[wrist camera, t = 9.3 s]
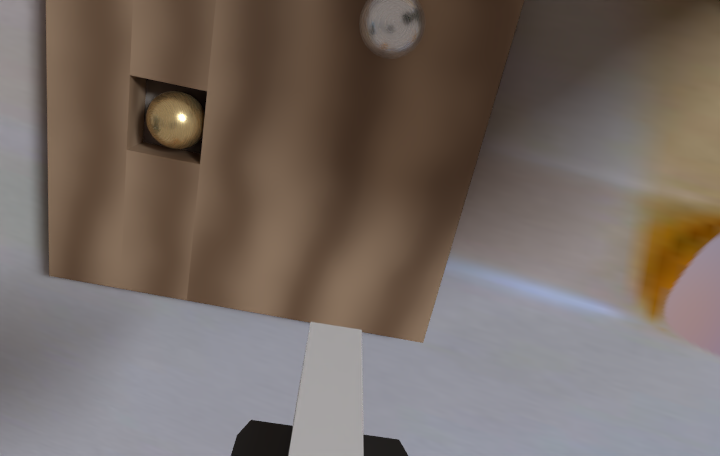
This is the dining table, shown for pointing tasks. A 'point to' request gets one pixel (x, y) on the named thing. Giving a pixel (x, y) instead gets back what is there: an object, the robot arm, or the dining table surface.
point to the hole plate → (269, 153)
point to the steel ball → (392, 26)
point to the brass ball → (175, 119)
